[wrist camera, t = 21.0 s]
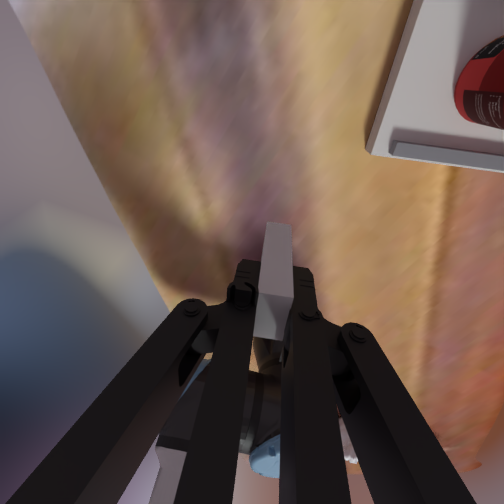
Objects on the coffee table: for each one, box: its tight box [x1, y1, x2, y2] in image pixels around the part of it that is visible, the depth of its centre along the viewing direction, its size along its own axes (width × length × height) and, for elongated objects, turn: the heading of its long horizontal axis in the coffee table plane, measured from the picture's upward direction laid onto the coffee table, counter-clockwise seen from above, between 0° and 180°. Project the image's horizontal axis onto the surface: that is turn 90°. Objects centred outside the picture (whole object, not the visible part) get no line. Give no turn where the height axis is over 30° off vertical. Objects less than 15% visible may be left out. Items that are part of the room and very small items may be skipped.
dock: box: [365, 0, 504, 173], centre depth 27 cm, size 18×18×9 cm
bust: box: [339, 417, 358, 464], centre depth 69 cm, size 12×8×11 cm
